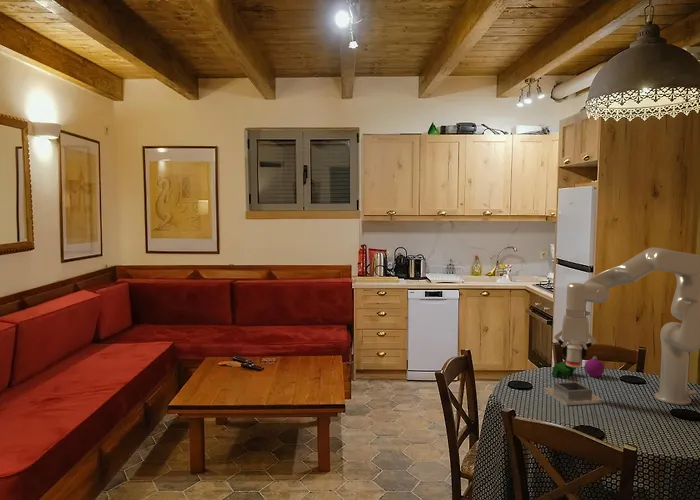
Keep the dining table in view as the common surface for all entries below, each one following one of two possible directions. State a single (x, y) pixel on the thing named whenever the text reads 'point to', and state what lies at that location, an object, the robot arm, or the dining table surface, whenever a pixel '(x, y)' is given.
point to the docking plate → (572, 394)
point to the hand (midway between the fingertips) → (574, 356)
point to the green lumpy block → (563, 370)
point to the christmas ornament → (594, 367)
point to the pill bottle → (574, 353)
